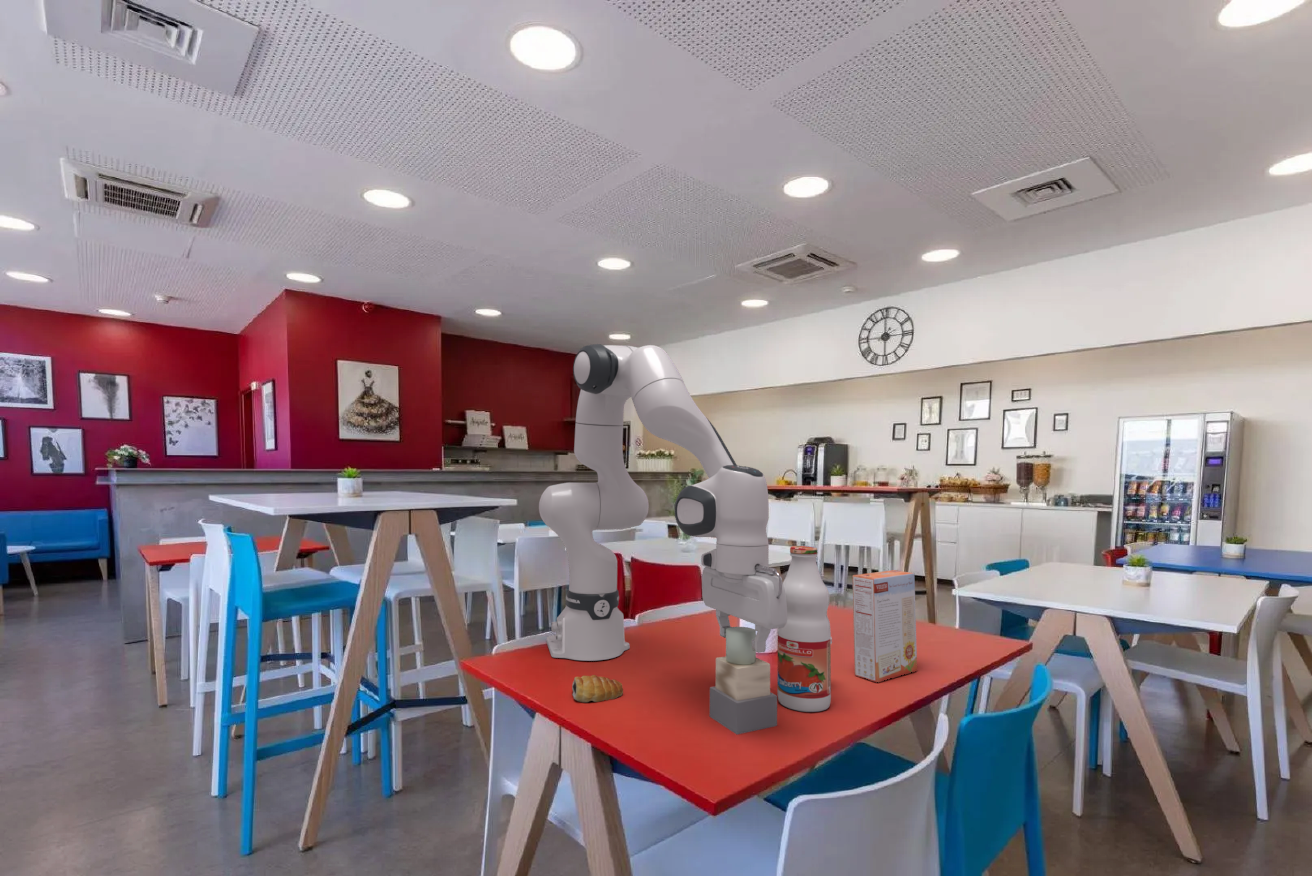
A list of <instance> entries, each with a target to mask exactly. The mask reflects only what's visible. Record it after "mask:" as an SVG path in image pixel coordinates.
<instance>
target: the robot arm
mask: <svg viewBox="0 0 1312 876" xmlns="http://www.w3.org/2000/svg"><path fill="white" fill-rule="evenodd" d="M572 371H573V372H572V374H573V379H574V381H575V383H576V385H577V387H578V389H580V391H579V396H578V400H577V407H576V414H575V425H574V426H575V428H574V445H573V446H574V447H573V452H574V456H575V458H576V459H577V460H578V462H579V463H581V465H583V466H585V467H587V468H588V469H591V470H593V471H595V472H596V473H597V482H564V483H563V482H562V483H558V484H553V485H549V486H547V487H546V488H545V490H544V491H543V492H542V494H541V496H540V499H539V502H538V513H539V516H540V518H541V520H542V521H543V523H544V524H545V525H546V526H547V527H548V528H549V529H551V530H552V531H553V532H554V534H556V535H557V536H558V537H559V539H560V540H561V543H562V544H563V545H564V548H565V551H566V553H567V560H568V579H569V581H568V583H569V584H568V590H567V592H566V595H565V608H564V609H563V610H561V613H560V614H559V615H558V616H557V617H556V621H551V626H550V629H551V632H552V633H555V634H552V635H549V636H546V644H547V647H548V650H549V654H550V656H551V657H552V658H555V659H556V658H557V659H558V658H559V659H569V660H574V661H586V662H587V661H589V662H590V661H591V662H592V661H593V662H594V661H595V662H596V661H603V660H609V659H614V658H616V657H619V656H621V655H622V654H623V653H624V651H627V650H629V649H630V648H631V647H630V643H629V642H627V641H626V640H625V622H624V620H625V619H624V613H623V612H622V611H621V610H620V609H619V608H618V606H619V600H620V595H619V590H618V558H617V556H616V554H615V553H614V552H613V551H612V550H611V549H610V548H609V547H607V546H605V545H603V544H601V543H598V542H597V541H595V539H594V535H593V531H596V530H597V531H598V530H600V531H603V530H604V531H605V530H624V529H631V528H634V527H639V526H641V525H642V524H643V523H644V521H645V520H646V518H647V517H648V513H649V508H650V504H649V499H648V496H647V494H646V492H645V490H644V489H643V488H642V487H641V486H640V485H638V484H637V482H635V481H634V480H633V478H632V477H631V476H630V474H629V472H628V469H627V468H626V465H625V461H624V451H623V447H624V445H623V444H624V443H623V438H624V411H625V410H624V409H625V404H626V402H627V400H629V399H630V398H631V399H632V403H633V406H634V408H635V412H636V414H637V416H638V419H639V421H640V422H641V424H642V426H644V428H645V430H647V431H648V432H649V433H650V434H651V435H653V436H655V437H657V438H659V439H662V440H665V441H668V442H670V443H673V444H675V445H678V446H679V447H681V448H684V449H685V450H686V451H688V452H690V453H691V454H692V455H693V456H694V457H695V458H697V460H698V461H699V462H700V464H701V467H702V468H703V471H704V472H705V474H706V476H707V477H708V478H707V479H706V480H703V481H701V482H698V483H695V484H691V485H688V486H685V487H684V488H683V489H681V490H680V492H679V493H678V495H677V497H676V500H675V502H674V519H675V521H676V524H677V526H678V528H680V531H681V532H682V533H684V535H686V536H689V537H690V536H691V537H693V538H694V537H695V538H716V542H715V543H716V544H715V548H714V549H712V550H710V551H707V552H704V553H702V554H701V557H700V558H701V559H700V562H701V566H702V567H703V570H702V574H701V577H702V578H701V595H702V600H703V604H704V605H705V606H706V607H708V608H711V609H713V610H715V617H716V620H717V624H718V625H719V636H720V637H721V638H725V639H726V629H727V628H729V627H732V626H731V623H730V622H731V621H730V619H729V616H732V617H735V618H737V619H740V620H743V621H745V622H748V623H750V624H753V625H754V629H755V631H756V637H755V639H753V640H752V643H751V644H752V647H751V648H752V650H753V651H755V652H756V653H758V654H761V653H765V651H766V649H767V648H766V647H767V644H766V643H767V640H768V639H769V636H770V634H771V632H772V630H775V629H776V630H778V628H783V627H784V626H785V625H786V623H787V603H786V594H785V588H784V585H783V579H782V576H781V575H780V574H779V572H778V570H777V569H776V568H775V567H769V565H770V564H769V563H770V561H769V559H770V558H769V557H770V555H769V551H770V550H769V546H770V545H769V539H768V535H767V528H768V527H767V526H768V522H769V518H770V516H769V514H770V513H769V512H770V509H769V507H770V505H769V504H770V503H769V493H768V492H769V490H768V489H769V488H768V484H767V480H766V477H765V475H764V472H761V471H760V470H759V469H757V468H754V467H751V466H750V467H749V466H742V465H738V464H737V463H736V461H735V460H734V457H733V456H732V454H731V453H730V451H729V449H728V447H727V446H726V444H725V441H724V440H723V439H722V437H721V435H720V434H719V432H718V430H717V429H716V427H715V426H714V424H713V423H712V422H711V421H710V420H709V418H707V416H706V415H705V414H704V413H703V412H702V410H701V409H700V408H699V407H698V405H697V403H696V402H695V401H694V398H693V397H692V396H691V394H690V392H689V390H688V388H687V386H686V384H685V381H684V379H683V377H682V375H681V373H680V371H679V370H678V368H677V366H676V365H675V363H674V361H673V360H672V358H671V357H670V355H669V354H668V353H667V352H666V351H665V349H664V348H663V347H660V346H657V345H654V344H649V345H647V344H646V345H643V346H640V347H638V346H637V347H636V346H632V345H626V344H625V345H617V344H616V345H615V344H609V345H607V344H605V345H603V344H600V343H594V344H588V345H585V346H584V345H583V347H581V348H580V349H579V350H578V352H577V354H576V355H575V357H574V361H573V367H572Z"/></svg>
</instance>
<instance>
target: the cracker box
mask: <svg viewBox="0 0 1312 876" xmlns="http://www.w3.org/2000/svg"><path fill="white" fill-rule="evenodd" d="M852 610H853V612H852V613H853V616H852V617H853V619H852V620H853V621H852V622H853V651H854V652H853V653H854V655H853V656H854V659H853V661H854V663H853V664H854V676H856V677H857V678H858V677H859V678H860V679H864V678H866V679H865V680H867V679H868V680H867V681H871V682H874V683H877V682H878V683H882V682H884V680H885V681H888V680H891V679H890V678H892V679H895V678H898V677H901V675H902V676H905V675H908V674H912V673H915V671H916V672H917V671H918V660H917V659H918V657H917V656H918V655H917V654H918V653H917V652H918V651H917V647H918V646H917V617H916V616H917V615H916V586H915V573H914V572H910V571H909V572H907V571H903V570H898V569H897V570H896V569H895V570H894V569H891V570H886V571H885V570H884V571H876V572H869V573H861V574H853V575H852ZM911 672H912V673H911ZM904 674H905V675H904ZM887 679H888V680H887Z"/></svg>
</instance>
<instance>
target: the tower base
mask: <svg viewBox="0 0 1312 876" xmlns="http://www.w3.org/2000/svg"><path fill="white" fill-rule="evenodd" d="M709 717H710V719H711V718H712V719H713V720H714V721H715V722H718V723H719V724H720V725H721V726H722V727H725V728H726V729H728V730H729V731H731V733H734V734H735V735H742V734H745V733H746V734H747V733H751V732H754V731H755V732H756V731H759V730H760V731H761V730H764V729H769V728H773V727H777V726H778V694H777V695H776V694H774V693H773V692H771V691H770V695H767V696H761V697H756V698H750V699H745V700H739V701H737V700H735V699H733V698H732V697H730V696H728V695H727V694H725V693H723V692H722V691H720V690H718V689H717V688H716V685H715V686H710V687H709Z"/></svg>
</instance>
